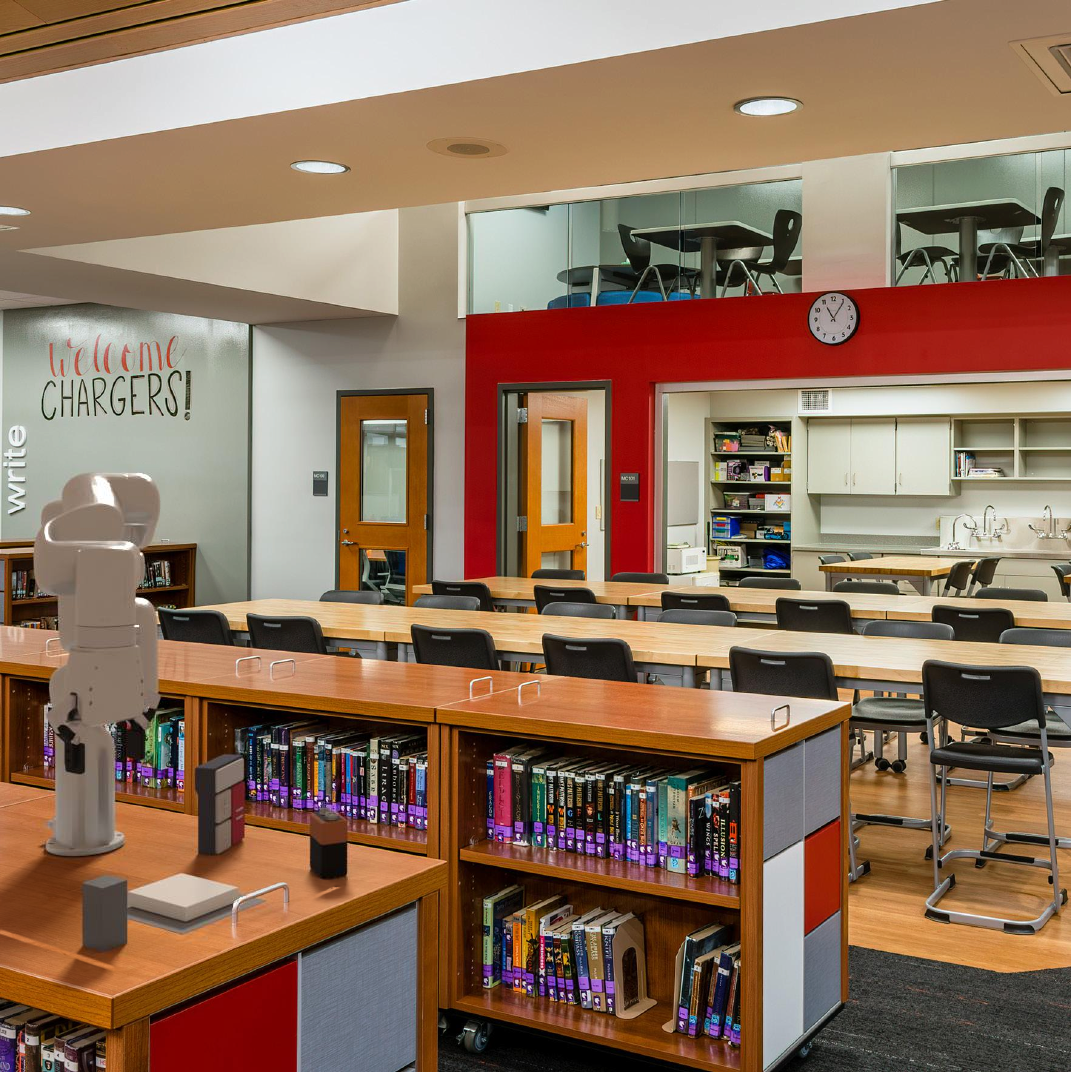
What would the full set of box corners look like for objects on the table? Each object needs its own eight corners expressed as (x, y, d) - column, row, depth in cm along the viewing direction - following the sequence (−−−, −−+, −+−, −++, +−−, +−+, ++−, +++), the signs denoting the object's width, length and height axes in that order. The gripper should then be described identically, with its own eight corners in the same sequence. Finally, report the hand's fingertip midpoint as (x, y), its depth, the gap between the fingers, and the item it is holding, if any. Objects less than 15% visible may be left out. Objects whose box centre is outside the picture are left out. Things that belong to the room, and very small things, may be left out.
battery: (321, 880, 185) (321, 817, 185) (308, 868, 191) (309, 807, 191) (348, 876, 187) (348, 814, 187) (334, 864, 193) (335, 804, 193)
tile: (127, 891, 171) (185, 907, 165) (181, 873, 180) (238, 887, 173) (127, 907, 171) (185, 923, 165) (181, 887, 180) (238, 902, 173)
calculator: (218, 858, 196) (218, 769, 195) (194, 856, 197) (194, 767, 196) (247, 839, 207) (247, 754, 206) (224, 837, 208) (224, 753, 207)
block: (82, 949, 156) (82, 882, 156) (107, 940, 160) (107, 874, 160) (102, 956, 154) (102, 888, 154) (127, 946, 158) (127, 879, 158)
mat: (86, 909, 171) (86, 906, 171) (172, 879, 185) (172, 876, 185) (182, 937, 161) (182, 934, 161) (266, 903, 175) (266, 900, 175)
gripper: (139, 629, 166) (139, 750, 167) (30, 642, 151) (30, 774, 152) (176, 633, 162) (176, 757, 163) (68, 647, 147) (68, 782, 148)
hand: (106, 765), depth 157 cm, fingers open, 9 cm apart
